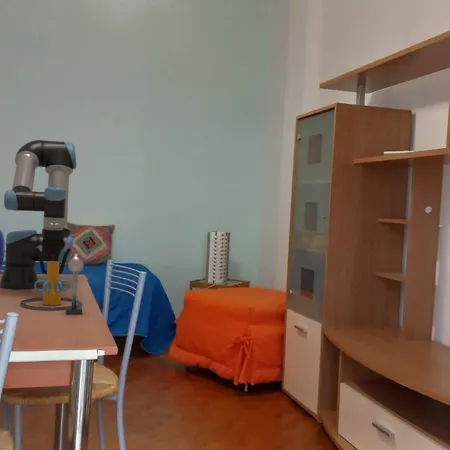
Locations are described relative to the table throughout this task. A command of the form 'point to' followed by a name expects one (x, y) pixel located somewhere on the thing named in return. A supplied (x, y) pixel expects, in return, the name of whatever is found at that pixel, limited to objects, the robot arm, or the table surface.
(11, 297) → the table surface
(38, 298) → the centring ring
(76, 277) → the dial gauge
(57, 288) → the cylinder
